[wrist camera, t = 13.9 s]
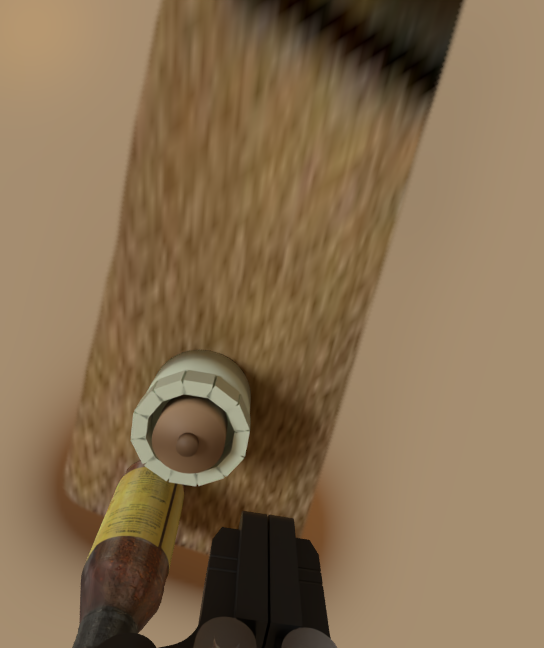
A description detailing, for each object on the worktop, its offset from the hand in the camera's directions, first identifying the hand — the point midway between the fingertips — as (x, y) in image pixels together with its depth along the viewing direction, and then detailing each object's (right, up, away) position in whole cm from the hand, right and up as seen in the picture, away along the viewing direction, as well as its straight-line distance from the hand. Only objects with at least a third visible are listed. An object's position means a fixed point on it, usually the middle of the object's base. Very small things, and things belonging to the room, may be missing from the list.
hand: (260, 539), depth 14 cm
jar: (-6, 0, +30) cm, 31 cm away
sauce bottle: (-11, -9, +33) cm, 36 cm away
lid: (-6, -2, +26) cm, 26 cm away
